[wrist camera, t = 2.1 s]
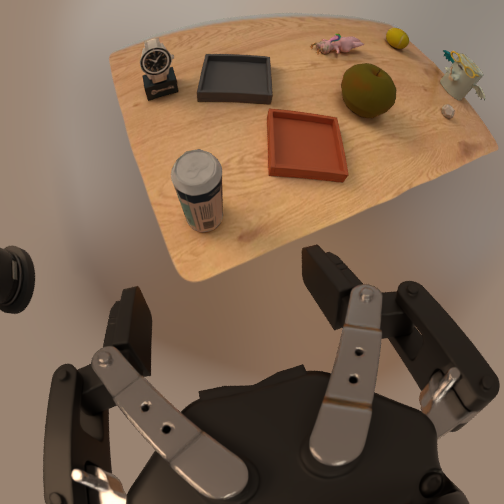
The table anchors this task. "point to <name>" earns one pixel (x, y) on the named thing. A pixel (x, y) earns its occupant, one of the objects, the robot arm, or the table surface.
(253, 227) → the table surface
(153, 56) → the watch
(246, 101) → the grey tray
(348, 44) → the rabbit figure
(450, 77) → the character sculpture
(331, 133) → the terracotta tray
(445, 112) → the game die
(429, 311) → the robot arm
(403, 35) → the tennis ball
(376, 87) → the apple
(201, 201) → the beer can
